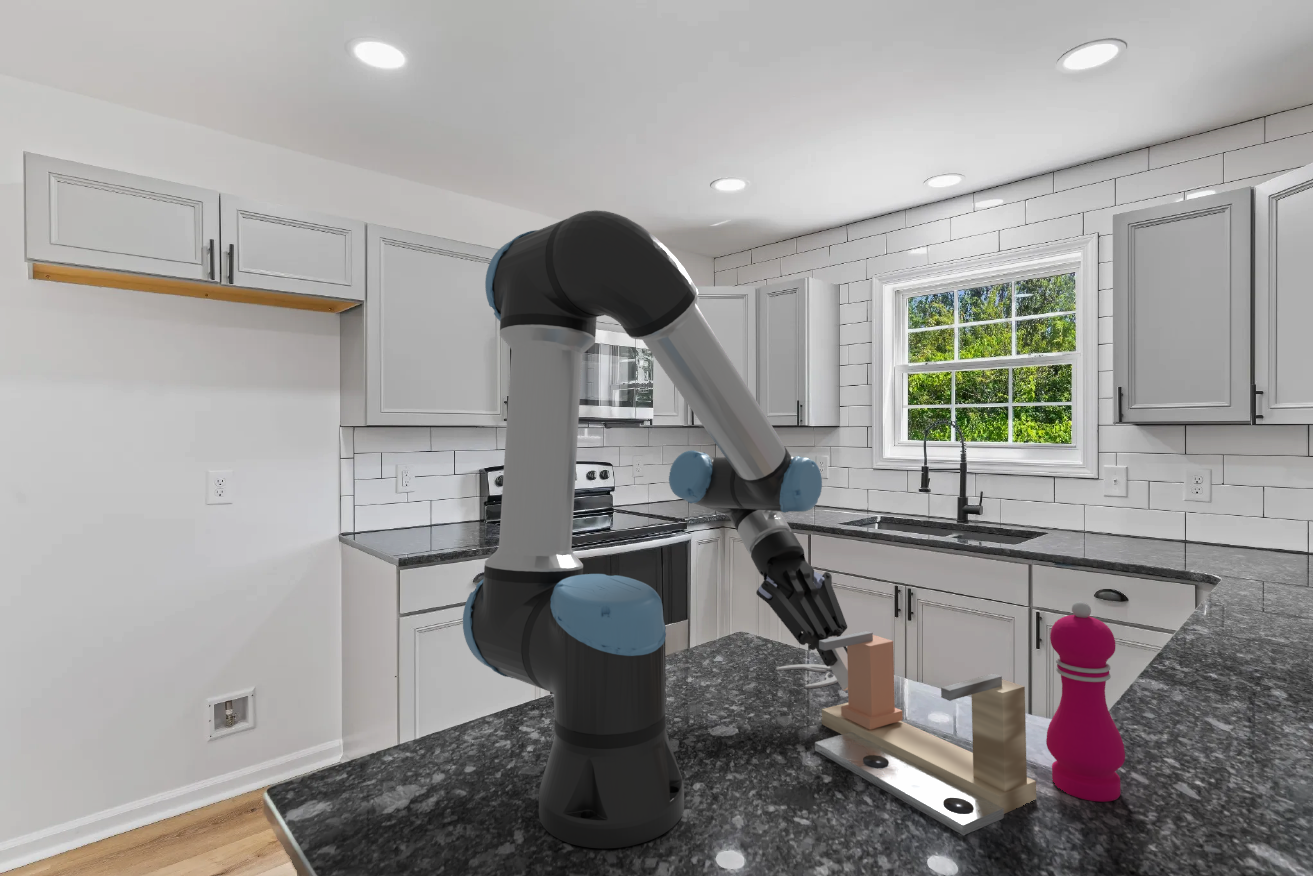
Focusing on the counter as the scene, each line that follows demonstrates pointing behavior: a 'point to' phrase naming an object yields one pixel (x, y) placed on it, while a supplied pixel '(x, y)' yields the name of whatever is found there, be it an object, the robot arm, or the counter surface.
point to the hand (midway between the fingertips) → (852, 684)
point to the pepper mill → (1084, 710)
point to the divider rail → (983, 772)
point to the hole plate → (911, 783)
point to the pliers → (817, 669)
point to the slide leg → (868, 679)
